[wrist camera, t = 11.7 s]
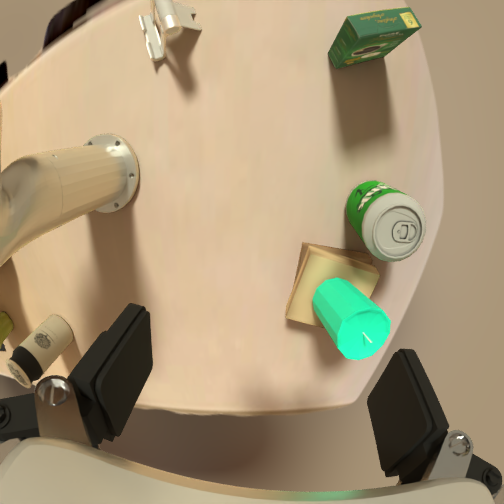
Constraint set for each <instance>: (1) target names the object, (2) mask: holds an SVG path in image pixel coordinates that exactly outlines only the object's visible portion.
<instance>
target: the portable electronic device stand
mask: <svg viewBox="0 0 504 504" xmlns="http://www.w3.org/2000/svg"><path fill="white" fill-rule="evenodd" d="M155 6H156V9H157V12H158V15H159V19H160V22H161V25H160V27H161V40H160V37H159V33H158V30H157V27H156V23H155ZM191 14H196V12H195V9H194V8H193V7H190V6H186V5H182V4H179V3H175V2H173V1H172V0H151V13H150V15H147V16H144V17H143V16H141V15H140V16H139V19H140V23H141V27H142V30H143V31H144V33H145V37H146V40H147V43H146V44H147V48H148V51H149V55H150V58H151V59H152V60H153V61H160V60H162V59H164V58H165V56H166V37H167V36H169V35H172V34H175V33H177V32H179V31H180V30H181V27H184V28H189V29H193V30H198V31H200V30H201V26H200V24H199V23H197V22H194V21H193V18H192V16H191Z"/></svg>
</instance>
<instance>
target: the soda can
mask: <svg viewBox="0 0 504 504" xmlns="http://www.w3.org/2000/svg"><path fill="white" fill-rule="evenodd" d="M346 215H347V218H348V220H349V222H350V224H351V225H352V226H353V228H354V229H355V231H356V232H357V234H358V235H359V237H360V238H361V239H362V241H363V242H364V244H365V245H366V247H367V248H368V249H369V251H370V252H371V253H372V254H373V255H374V256H376V257H377V258H379V259H380V260H383V261H388V262H395V261H401V260H403V259H405V258H408V257H409V256H411V255H412V254H413V253H414V252H415V251H416V250H417V249H418V248H419V246H420V245H421V243H422V242H423V238H424V235H425V232H426V219H425V215H424V211H423V210H422V208H421V207H420V205H419V204H418V202H417V201H415V200H414V199H413V198H411V197H410V196H408V195H406V194H404V193H402V192H400V191H399V190H397V189H395V188H393V187H391V186H389V185H387V184H385V183H382V182H379V181H376V180H370V181H364V182H362V183H360V184H358V185H357V186H356V187H354V188H353V189H352V190H351V192H350V194H349V195H348V197H347V201H346Z"/></svg>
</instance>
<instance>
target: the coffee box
mask: <svg viewBox="0 0 504 504" xmlns="http://www.w3.org/2000/svg"><path fill="white" fill-rule="evenodd" d="M421 27H422V26H421V24H420V23H419V21H418V19H417V18H416V16H415V15H414V13H413V11H412V10H411V8H410V7H403V8H394V9H386V10H379V11H372V12H366V13H361V14H356V15H351V16H347V17H346V19H345V21H344V23H343V25H342V27H341V29H340V31H339V33H338V35H337V37H336V39H335V41H334V42H333V44H332V46H331V48H330V50H329V52H328V55H329V57H330V59H331V61H332V63H333V65H334V67H335V68H336V69H338V68H342V67H346V66H349V65H352V64H356V63H360V62H364V61H368V60H372V59H376V58H381V57H384V56H386V55H387V54H388V53H390V52H391V51H392V50H393V49H395V48H396V47H397V46H398V45H399V44H401V43H402V42H403V41H404V40H406V39H407V38H408V37H410V36H411V35H412V34H413V33H415V32H416V31H417V30H419V29H420V28H421Z"/></svg>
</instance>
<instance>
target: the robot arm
mask: <svg viewBox="0 0 504 504" xmlns="http://www.w3.org/2000/svg"><path fill="white" fill-rule="evenodd" d="M1 133H2V105H1V102H0V267H1V266H2V265H3V264H4V263H5V262H6V261H7V260H8V259H9V258H10V257H11V256H12V255H13V254H14V253H16V252H17V251H18V250H19V249H21V248H22V247H24V246H25V245H27V244H28V243H30V242H31V241H33V240H35V239H37V238H38V237H40V236H42V235H44V234H46V233H48V232H50V231H52V230H54V229H56V228H58V227H60V226H62V225H64V224H66V223H68V222H70V221H72V220H74V219H76V218H78V217H80V216H82V215H85V214H87V213H89V212H91V211H93V210H96V211H98V212H102V213H111V212H115V211H117V210H119V209H121V208H122V207H124V206H125V205H126V204H127V203H128V202H129V201H130V200H131V199H132V197H133V196H134V193H135V191H136V189H137V185H138V180H139V167H138V162H137V158H136V155H135V153H134V151H133V149H132V148H131V146H130V145H129V144H128V143H127V142H126V141H125V140H124V139H122V138H121V137H119V136H117V135H114V134H100V135H97V136H94V137H93V138H91V139H89V140H88V141H87V142H86V143H85V144H84V145H83V146H81V147H74V148H67V149H60V150H54V151H48V152H42V153H37V154H31V155H27V156H23V157H21V158H19V159H17V160H15V161H14V162H12V163H11V164H10V165H9V166H7V167H6V168H5V169H4V170H3V171H2V173H1ZM133 174H134V176H133ZM152 366H153V358H152V345H151V328H150V313H149V312H148V311H146V308H145V307H144V306H140V305H136V304H133V303H130V304H129V305H128V306H127V307H126V308H125V309H124V311H123V312H122V313H121V314H120V316H119V317H118V318H117V319H116V321H115V322H114V323H113V325H112V326H111V327H110V328H109V330H108V331H104V332H102V333H101V334H100V335H99V337H98V338H97V339H96V341H95V342H94V343H93V344H92V346H91V347H90V348H89V350H88V351H87V352H86V353H85V355H84V356H83V357H82V359H81V360H80V361H79V363H78V364H77V365H76V367H75V368H74V369H73V371H72V372H71V374H70V375H69V376H68V378H67V379H66V378H65V377H62V376H58V375H51V376H47V377H45V378H43V379H41V380H40V381H39V382H38V383H37V385H36V387H35V390H34V393H32V394H26V395H21V396H16V397H10V398H4V399H0V504H504V485H502V476H501V473H500V471H499V470H498V469H497V468H496V467H494V466H493V465H491V464H489V463H488V462H486V461H484V460H482V459H481V458H479V457H478V456H476V455H474V454H473V443H472V440H471V438H470V437H469V436H468V435H467V434H466V433H464V432H462V431H460V430H453V431H451V432H449V433H448V431H447V429H448V428H449V424H448V422H447V419H446V417H445V415H444V412H443V410H442V407H441V405H440V403H439V401H438V398H437V396H436V394H435V392H434V390H433V387H432V385H431V383H430V381H429V379H428V377H427V375H426V373H425V370H424V368H423V366H422V364H421V362H420V360H419V358H418V356H417V354H416V352H415V351H414V350H412V349H399V350H398V352H395V353H394V354H393V356H392V358H391V360H390V361H389V363H388V365H387V367H386V369H385V370H384V372H383V374H382V375H381V377H380V379H379V380H378V382H377V384H376V385H375V387H374V388H373V390H372V392H371V393H370V395H369V396H368V400H367V405H368V409H369V413H370V418H371V422H372V426H373V431H374V435H375V440H376V444H377V450H378V454H379V460H380V465H381V469H382V470H383V471H385V476H386V477H392V476H398V475H399V481H398V483H397V484H396V486H390V487H383V488H376V489H375V488H374V489H366V490H353V491H338V492H292V491H274V490H263V489H252V488H245V487H237V486H231V485H224V484H218V483H213V482H207V481H203V480H198V479H193V478H189V477H185V476H181V475H176V474H173V473H169V472H166V471H162V470H158V469H155V468H152V467H148V466H145V465H142V464H139V463H136V462H133V461H130V460H126V459H124V458H121V457H118V456H116V455H113V454H110V453H107V452H104V451H101V449H100V447H99V444H100V443H101V442H102V440H103V438H104V439H106V440H109V441H111V442H112V441H113V440H114V437H115V436H120V435H121V433H122V430H123V428H124V426H125V424H126V422H127V420H128V418H129V416H130V414H131V411H132V409H133V407H134V405H135V403H136V401H137V399H138V397H139V395H140V393H141V391H142V389H143V387H144V385H145V383H146V381H147V379H148V377H149V374H150V372H151V370H152ZM501 485H502V486H501Z"/></svg>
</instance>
